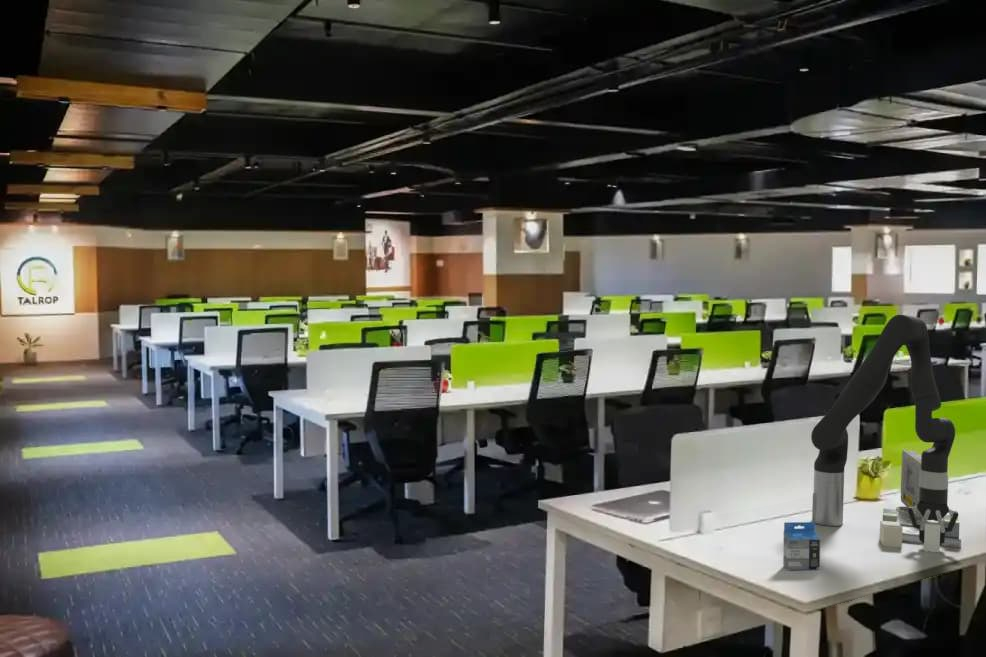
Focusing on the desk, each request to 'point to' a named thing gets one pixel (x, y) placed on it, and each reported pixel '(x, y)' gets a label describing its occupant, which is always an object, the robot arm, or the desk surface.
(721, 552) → the desk surface
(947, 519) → the grey base with blocks
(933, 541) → the block
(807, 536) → the label tape box
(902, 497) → the network device
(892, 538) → the block
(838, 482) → the robot arm
